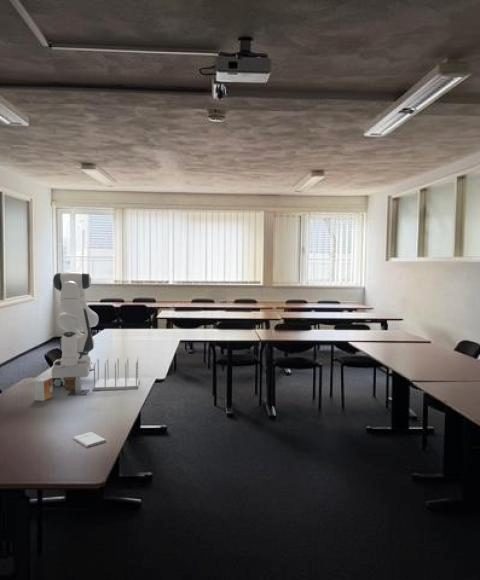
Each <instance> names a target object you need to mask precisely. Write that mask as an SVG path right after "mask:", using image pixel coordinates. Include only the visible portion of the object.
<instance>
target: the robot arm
mask: <svg viewBox="0 0 480 580" xmlns="http://www.w3.org/2000/svg"><path fill="white" fill-rule="evenodd" d="M91 278H92V277H91V275H90V274H89V273H88V272H86V271H83V272H81V271H69V272H58V273H55V274H54V275H53V278H52V285H53V287H54V289H56V290H57V291H59V292H60V309H61V310H62V311H63V312H60V313H59V315H58V316H57V318H56V321H57V325H58V326H59V328H61V329H63V331H64V333H62V335H61V339H59V349H60V351H61V353H62V354H61V358H58V359H55V360H54V361H53V362H52V363H53V364H52V365H53V366H52V367H51V372H50V374H51V378H61V381H62V382H63V385H65V381H64V378H71V377H76V381H79V380H80V379H81V378H87V377H88V376H89V375H90V371H94V363H92V361H91V355H90V354H89V353H90V352H91V351H92V350H93V349H94V348H95V340H94V337H93V334H92V330H91V328H94V327H96V326H97V325H98V324H99V315H98V313H96V312H95V311H94V310H92V309H91V308H90V307H89V306H88V303H87V302H86V295H85V294H86V293H85V290H86V289H89V288H90V287H91V284H92V279H91ZM78 329H83V333H82V332H80V331H79V330H78Z"/></svg>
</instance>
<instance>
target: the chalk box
mask: <svg viewBox="0 0 480 580" xmlns="http://www.w3.org/2000/svg"><path fill="white" fill-rule="evenodd" d="M51 378H52V377H51ZM52 379H53V388H54V387H65V385H63V382H62V381H61V378H52ZM64 381H65V378H64Z"/></svg>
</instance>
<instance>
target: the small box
mask: <svg viewBox="0 0 480 580" xmlns="http://www.w3.org/2000/svg"><path fill="white" fill-rule="evenodd" d="M53 389H54V387H53V379H52V377H47V376H46V377H44V376H43V377H41V378H39V379H36V380H34V400H35V401H40V402H42V401H43V402H45V401H46V400H49V399H51V398H53V397H54V390H53Z"/></svg>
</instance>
